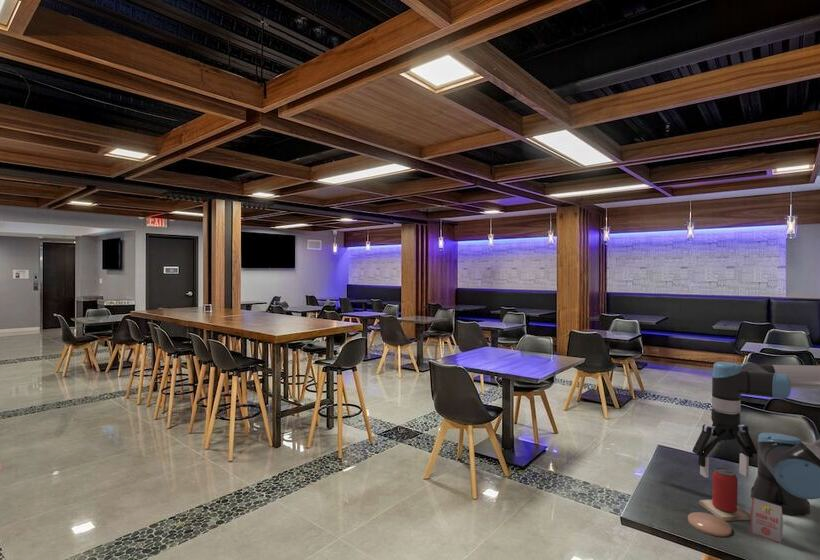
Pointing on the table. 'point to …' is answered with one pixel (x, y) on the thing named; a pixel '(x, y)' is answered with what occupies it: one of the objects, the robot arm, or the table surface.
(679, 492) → the table surface
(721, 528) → the coaster
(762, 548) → the table surface
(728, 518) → the square tan board
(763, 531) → the printed cardboard carton
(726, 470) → the beer can
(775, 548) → the table surface
